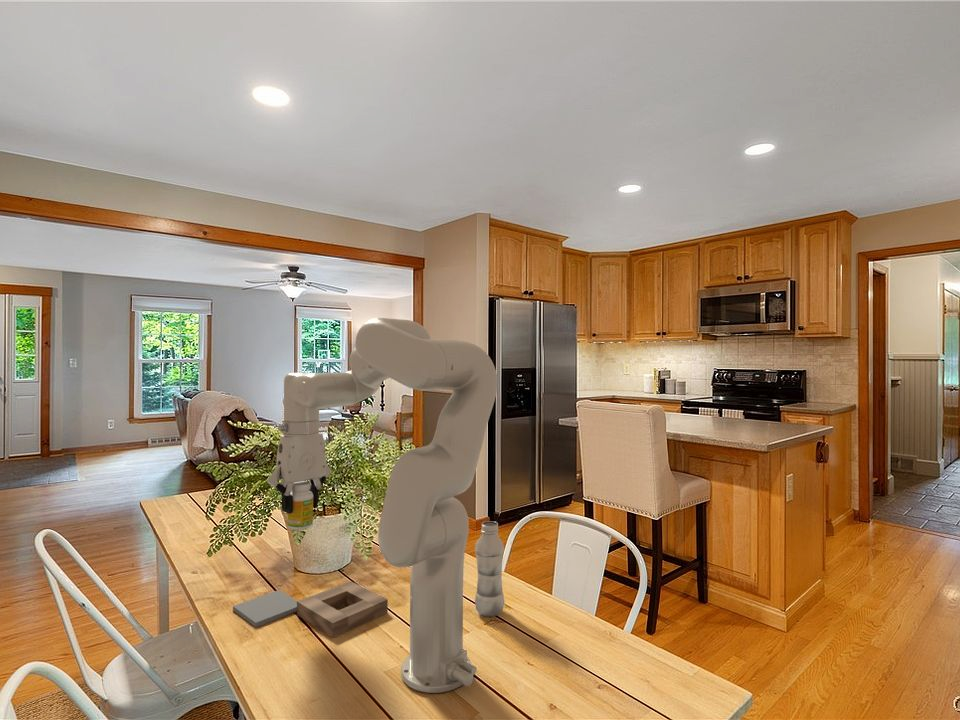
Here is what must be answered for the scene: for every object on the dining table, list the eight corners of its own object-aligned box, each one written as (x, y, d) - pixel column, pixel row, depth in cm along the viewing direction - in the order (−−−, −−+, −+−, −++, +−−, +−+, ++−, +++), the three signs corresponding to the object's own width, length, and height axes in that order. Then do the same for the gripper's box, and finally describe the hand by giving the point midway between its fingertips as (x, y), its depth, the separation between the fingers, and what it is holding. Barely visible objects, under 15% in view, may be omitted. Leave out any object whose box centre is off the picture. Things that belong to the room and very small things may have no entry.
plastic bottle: (510, 612, 117) (510, 523, 117) (490, 624, 113) (490, 530, 112) (488, 603, 122) (489, 517, 122) (468, 613, 117) (468, 523, 117)
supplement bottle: (304, 531, 115) (305, 487, 114) (282, 528, 116) (283, 485, 115) (317, 523, 120) (318, 481, 120) (295, 520, 121) (296, 478, 121)
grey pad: (303, 608, 119) (303, 604, 119) (255, 627, 111) (255, 622, 111) (279, 594, 126) (279, 589, 126) (232, 610, 118) (232, 606, 118)
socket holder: (387, 612, 117) (387, 599, 117) (332, 637, 107) (332, 623, 107) (350, 593, 127) (350, 581, 127) (296, 615, 116) (296, 601, 116)
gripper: (272, 434, 109) (271, 521, 109) (344, 426, 121) (343, 504, 121) (255, 430, 114) (254, 513, 114) (326, 423, 126) (325, 498, 127)
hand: (300, 508), depth 118 cm, fingers closed on supplement bottle, 5 cm apart
